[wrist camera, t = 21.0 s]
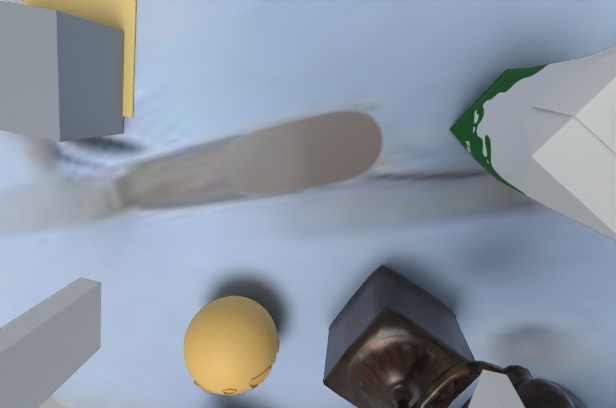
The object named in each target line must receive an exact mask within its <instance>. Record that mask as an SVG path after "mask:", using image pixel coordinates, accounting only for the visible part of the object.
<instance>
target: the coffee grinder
mask: <svg viewBox="0 0 616 408" xmlns="http://www.w3.org/2000/svg"><path fill="white" fill-rule="evenodd" d="M482 370H487V371H492V372H496V373H501V374H505V375H507V376H508V378H509V380H510V382H511V383H512V385H513V387H514V389H515V390H516V392H517V394H518V396H519V398H520V399H521V401H522V403H523V405H524V407H525V408H575V407H574V404H573V403H572V401H571V400H570V398H569V397H568V395H567V394H566V393H565V391H564V390H563V389H562V388H561V387H559V386H558V385H557V384H555V383H552V382H549V381H546V380H542V379H533V377H532V375H531V374H530V372H529V370H528V369H527V368H524V367H521V366H519V365H511V366H508V367H506V368H504V369H503V368H501V367H499V366H496V365H493V364H490V363H487V362H484V361H475V359H474V357H473V355H472V352H471V350H470V348H469V346H468V344H467V342H466V340H465V338H464V336H463V333H462V331H461V329H460V327H459V324H458V322H457V320H456V315H455V314H454V313H453V312H452V311H450V310H449V309H448V308H447V307H446V306H445V305H443V304H442V303H441V302H440V301H439V300H437V299H436V298H435V297H433V296H432V295H430V294H429V293H427V292H426V291H424V290H423V289H421V288H420V287H419V286H417V285H416V284H414V283H413V282H411V281H410V280H408V279H407V278H405V277H404V276H402V275H400V274H398V273H396V272H394V271H392V270H390V269H387V268H385V267H383V266H380V267H379V268H378V269H377V270H376V271H375V272H373V273H372V274H371V275H370V276H369V277H368V279H367V280H366V281H365V282H364V283H363V284H362V286H361V287H360V288H359V289H358V291H357V292H356V293H355V294H354V295H353V297H352V298H351V299H350V300H349V302H348V303H347V304H346V306H345V307H344V308H343V310H342V311H341V312H340V314H339V315H338V316H337V318H336V319H335V320H334V322H333V323H332V324H331V326H330V327H329V336H328V345H327V354H326V362H325V371H324V378H323V383H324V385H326V386H327V387H328V388H330V389H331V390H333V391H334V392H335V393H337V394H338V395H339V396H341V397H342V398H344V399H346V400H347V401H349V402H350V403H352V404H353V405H355V406H356V407H358V408H448V406H449V405H450V404H451V402H452V401H453V400H454V399H455V398H456V397H457V396H458V395H459V394H461V393H462V392H463V391H464V390H465V389H466V388H467V387H468V386H469V385H470V384H471V383H472V382H473V381H474V380H475V379H476V378H477V377H478V376H480V375H481V372H482Z"/></svg>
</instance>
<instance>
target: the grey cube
mask: <svg viewBox="0 0 616 408" xmlns="http://www.w3.org/2000/svg"><path fill="white" fill-rule="evenodd" d="M123 77H124V31H121V30H118V29H115V28H112V27H108V26H105V25H102V24H99V23H95V22H92V21H89V20H86V19H82V18H79V17H76V16H73V15H69V14H66V13H63V12H60V11H56V10H51V9H45V8H39V7H33V6H28V5H22V4H16V3H10V2H4V1H0V130H3V131H8V132H13V133H18V134H23V135H28V136H33V137H38V138H43V139H48V140H53V141H58V142H63V141H71V140H78V139H86V138H93V137H101V136H108V135H115V134H123V130H124V116H123Z"/></svg>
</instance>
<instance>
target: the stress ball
mask: <svg viewBox="0 0 616 408" xmlns="http://www.w3.org/2000/svg"><path fill="white" fill-rule="evenodd" d="M183 351H184V359H185V363H186V366H187V368H188V371H189V373H190V374H191V376H192V377H193V379H194V383H195V384H196V385H197V386H198V387H200V388H201V389H202V390H204V391H206V392H207V393H209V394H212V392H213V393H216V394H222V395H231V396H234V395H237V394H240V393H242V392H245V391H247V390H249V389H254V388H255V387H257V386H258V385H259V384H260V383H261V382H263V381H264V379H265V378H266V377H267V376H268V374H269V372H270V371H271V367H272V366H273V364H274V363H275V359H276V354H277V352H278V351H279V340H278V335H277V330H276V326H275V323H274V321H273V319H272V317H271V316H270V314H269V313H268V311H267V310H266V309H265V308H264V307H263V306H262V305H260V304H259V303H257V302H256V301H254V300H252V299H250V298H246V297H242V296H226V297H222V298H218V299H216V300H214V301H212V302H210V303H208V304H207V305H206V306H204V307H203V308H202V309H201V310H200V311H199V312H198V313H197V314H196V315H195V317H194V318H193V319H192V321H191V323H190V325H189V327H188V329H187V332H186V335H185V339H184V350H183Z"/></svg>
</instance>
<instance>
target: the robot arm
mask: <svg viewBox="0 0 616 408" xmlns="http://www.w3.org/2000/svg"><path fill="white" fill-rule="evenodd" d="M100 325H101V282H98V281H94V280H89V279H85V278H79V279H77V280H75V281H74V282H72V283H71V284H69V285H68V286H66V287H64V288H63V289H61V290H60V291H58V292H57V293H55V294H53V295H52V296H50V297H49V298H47V299H46V300H44V301H42V302H41V303H39V304H38V305H36V306H35V307H33V308H31V309H30V310H28V311H27V312H25V313H24V314H22V315H21V316H19V317H17V318H16V319H14V320H13V321H11V322H10V323H8V324H6V325H5V326H3V327H2V328H0V408H38V407H39V406H40V405H42V404H43V403H44V402H45V401H46V400H47V399H48V398H49V397H50V396H51V395H52V394H53V393H54V392H55V391H56V390H57V389H58V388H59V387H60V386H61V385H62V384H63V383H64V382H65V381H66V380H67V379H68V378H70V377H71V376H72V375H73V374H74V373H75V372H76V371H77V370H78V369H79V368H80V367H81V366H82V365H83V364H84V363H85V362H86V361H87V360H88V359H89V358H90V357H91V356H92V355H93V354H94V353H95V352H96V351H98V350H99V349H100ZM562 389H563V388H562ZM563 390H564V391H565V393H566V394H567V395H568V397H569V398H570V400H571V401H572V403H573V404H574V407H575V408H585V407H584V405H583V404H582V403H581V402H580V401H579V400H578V399H577V398H576V397H575V396H574V395H572V394H571V393H570V392H568V391H566V390H565V389H563ZM463 408H525V407H524V405H523V403H522V401H521V399H520V398H519V396H518V394H517V392H516V390H515V389H514V387H513V385H512V383H511V382H510V380H509V378H508V376H507V375H505V374H501V373H496V372H492V371H487V370H482V372H481V375H480V378H479V380H478V383H477V385H476V388H475V391H474V393H473V396H472V398H471V399H470V400H469V401H468V402H467V403H466V404H465V406H464V407H463Z"/></svg>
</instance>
